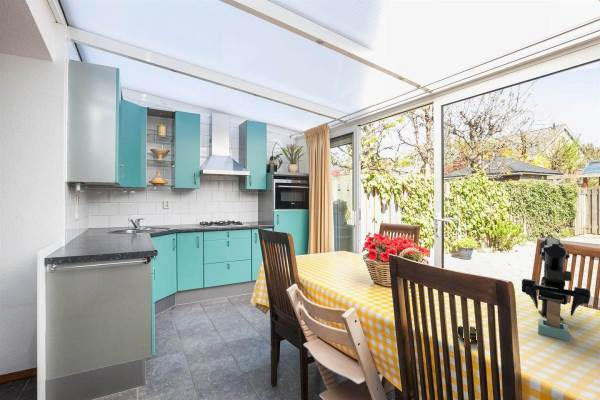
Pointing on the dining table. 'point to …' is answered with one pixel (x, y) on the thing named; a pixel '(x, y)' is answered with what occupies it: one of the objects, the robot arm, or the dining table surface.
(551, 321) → the square wooden post
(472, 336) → the tape measure
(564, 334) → the square teal collar
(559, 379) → the dining table surface
